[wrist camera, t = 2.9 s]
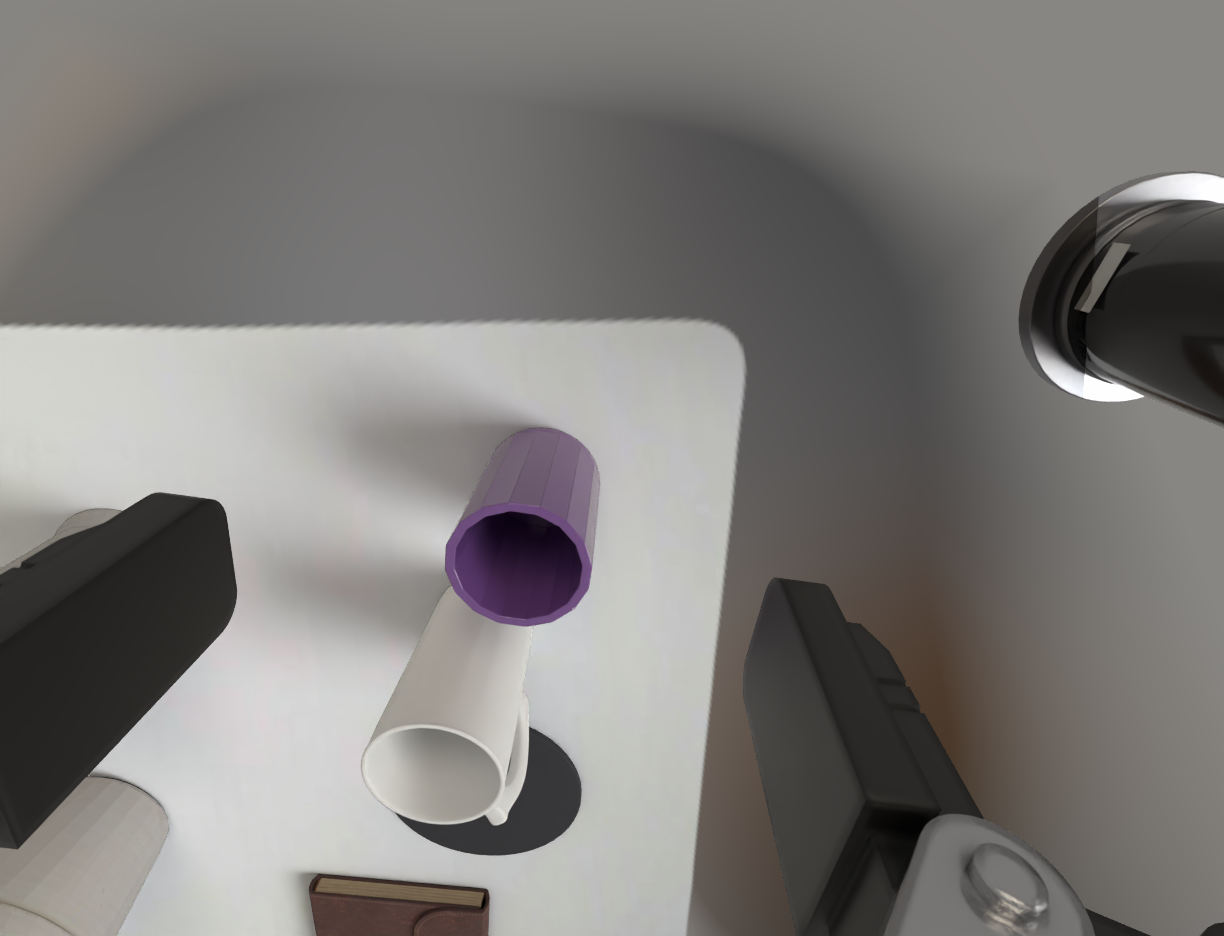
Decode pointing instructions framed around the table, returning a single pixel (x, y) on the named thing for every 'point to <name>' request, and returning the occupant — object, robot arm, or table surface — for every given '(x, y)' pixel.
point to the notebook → (396, 908)
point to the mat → (519, 808)
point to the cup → (528, 530)
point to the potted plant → (82, 863)
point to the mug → (455, 722)
